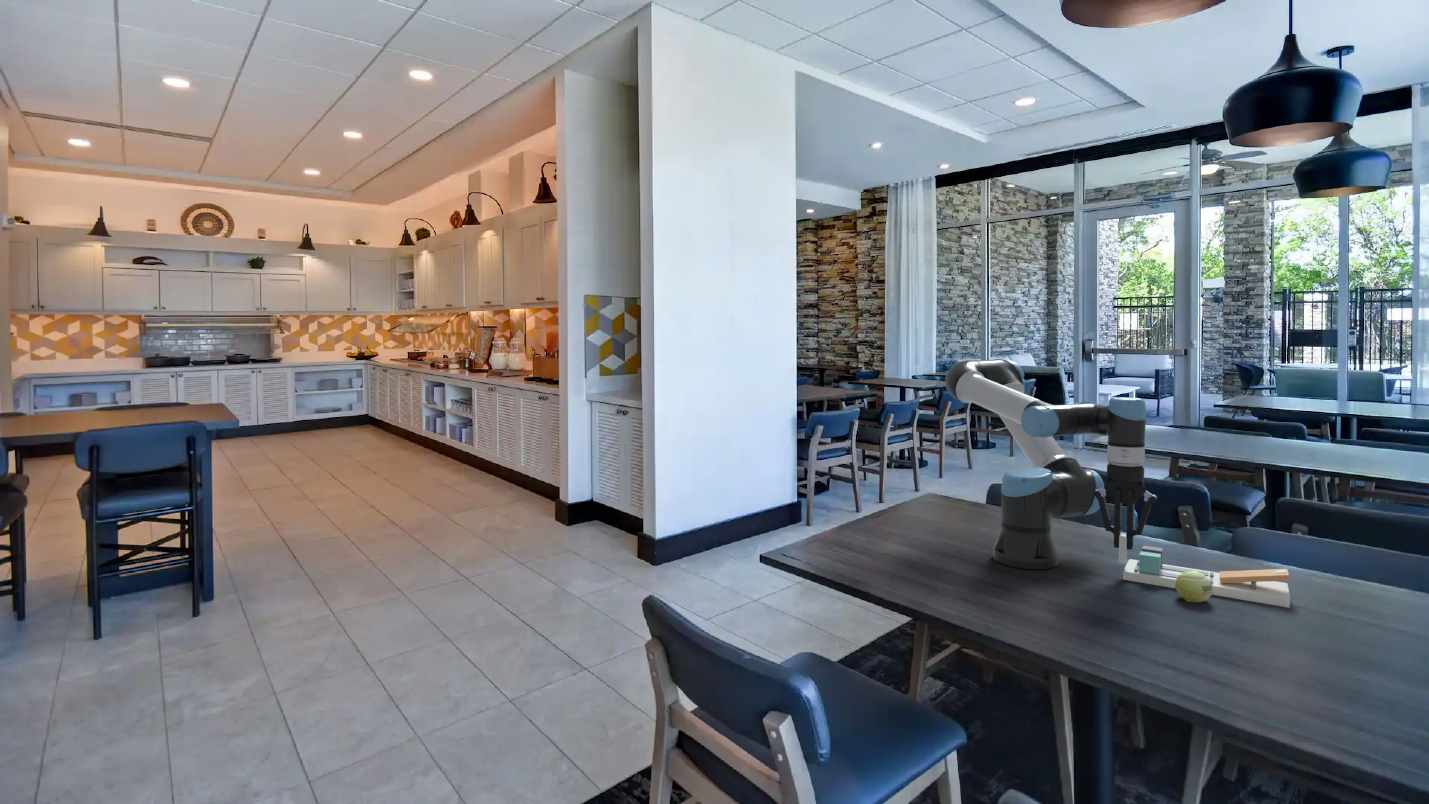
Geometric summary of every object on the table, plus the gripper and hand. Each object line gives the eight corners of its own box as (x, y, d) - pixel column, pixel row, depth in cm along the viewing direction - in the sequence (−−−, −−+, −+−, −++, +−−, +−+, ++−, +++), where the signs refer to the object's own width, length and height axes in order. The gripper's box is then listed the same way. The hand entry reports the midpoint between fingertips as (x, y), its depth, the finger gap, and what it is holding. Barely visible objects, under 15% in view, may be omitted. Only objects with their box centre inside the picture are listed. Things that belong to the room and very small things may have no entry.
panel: (1122, 579, 160) (1123, 565, 160) (1128, 566, 169) (1129, 553, 168) (1289, 607, 142) (1290, 592, 141) (1286, 592, 150) (1287, 577, 150)
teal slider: (1138, 571, 159) (1139, 554, 158) (1140, 567, 161) (1140, 551, 161) (1159, 574, 156) (1159, 557, 156) (1160, 570, 159) (1161, 554, 158)
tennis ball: (1201, 576, 142) (1216, 569, 146) (1166, 572, 148) (1181, 566, 152) (1205, 607, 142) (1219, 599, 146) (1170, 601, 148) (1185, 594, 151)
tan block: (1220, 583, 151) (1219, 577, 151) (1221, 576, 155) (1219, 570, 155) (1290, 580, 143) (1288, 574, 143) (1288, 574, 147) (1287, 567, 147)
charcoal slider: (1141, 564, 163) (1142, 548, 163) (1142, 561, 165) (1143, 545, 165) (1161, 568, 161) (1162, 551, 160) (1162, 564, 163) (1163, 548, 163)
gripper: (1091, 463, 161) (1089, 561, 163) (1156, 468, 153) (1153, 571, 155) (1096, 459, 167) (1094, 553, 169) (1160, 463, 159) (1157, 562, 161)
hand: (1122, 561), depth 162 cm, fingers closed
